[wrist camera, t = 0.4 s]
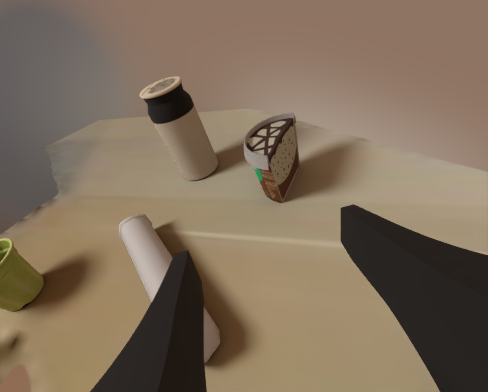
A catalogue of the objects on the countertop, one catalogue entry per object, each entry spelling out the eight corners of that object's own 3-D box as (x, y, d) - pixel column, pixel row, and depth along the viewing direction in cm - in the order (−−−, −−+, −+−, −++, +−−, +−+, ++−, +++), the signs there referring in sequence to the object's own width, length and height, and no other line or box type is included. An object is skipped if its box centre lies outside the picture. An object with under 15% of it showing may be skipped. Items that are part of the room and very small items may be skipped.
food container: (271, 159, 50) (259, 112, 43) (302, 161, 47) (294, 110, 40) (245, 204, 43) (226, 156, 36) (279, 209, 40) (265, 158, 33)
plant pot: (25, 269, 47) (-20, 241, 41) (66, 265, 44) (24, 234, 39) (-17, 323, 40) (-77, 298, 34) (30, 321, 38) (-27, 294, 32)
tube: (228, 326, 25) (147, 209, 43) (177, 360, 23) (113, 221, 40) (230, 354, 28) (154, 234, 45) (185, 387, 26) (122, 246, 43)
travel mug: (223, 156, 56) (189, 71, 44) (211, 180, 50) (169, 91, 39) (192, 159, 59) (152, 80, 47) (177, 182, 53) (128, 100, 42)
